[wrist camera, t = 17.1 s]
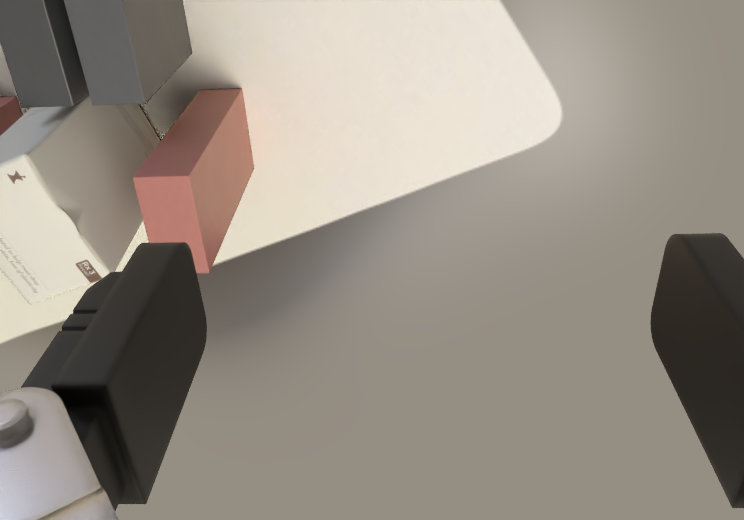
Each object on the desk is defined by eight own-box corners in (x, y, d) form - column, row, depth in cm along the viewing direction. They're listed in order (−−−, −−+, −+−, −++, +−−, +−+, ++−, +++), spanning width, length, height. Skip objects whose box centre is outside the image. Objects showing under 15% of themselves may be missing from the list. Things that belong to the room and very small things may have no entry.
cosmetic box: (47, 92, 48) (-79, 187, 35) (121, 62, 46) (18, 148, 34) (113, 194, 52) (22, 311, 39) (183, 168, 50) (111, 281, 38)
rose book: (199, 89, 47) (131, 177, 35) (242, 88, 47) (189, 175, 35) (214, 169, 50) (156, 274, 38) (254, 168, 50) (209, 273, 38)
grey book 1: (60, -56, 42) (-24, -28, 34) (107, -58, 42) (35, -30, 34) (90, 57, 46) (21, 108, 38) (134, 55, 46) (74, 106, 38)
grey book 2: (123, -59, 42) (54, -31, 34) (171, -61, 42) (114, -34, 34) (148, 55, 46) (92, 106, 37) (192, 53, 46) (145, 104, 37)
